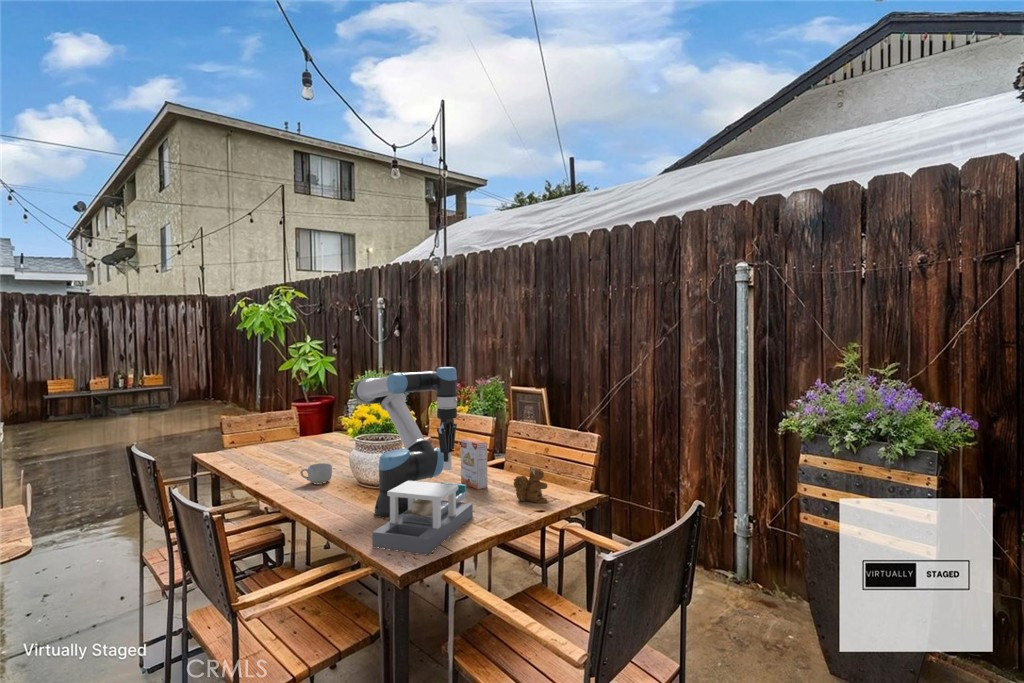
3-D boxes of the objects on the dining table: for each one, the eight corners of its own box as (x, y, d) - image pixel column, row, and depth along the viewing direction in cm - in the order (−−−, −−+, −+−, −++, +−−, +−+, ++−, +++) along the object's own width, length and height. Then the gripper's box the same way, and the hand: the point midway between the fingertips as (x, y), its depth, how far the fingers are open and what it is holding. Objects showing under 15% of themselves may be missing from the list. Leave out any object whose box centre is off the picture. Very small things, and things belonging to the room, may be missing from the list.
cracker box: (460, 483, 235) (460, 438, 235) (471, 481, 239) (470, 436, 239) (476, 490, 224) (476, 443, 224) (487, 487, 228) (487, 441, 228)
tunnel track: (372, 547, 163) (372, 499, 162) (425, 511, 197) (424, 471, 197) (428, 555, 156) (428, 505, 156) (472, 516, 191) (472, 475, 191)
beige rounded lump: (411, 520, 173) (411, 503, 173) (420, 514, 178) (420, 497, 178) (427, 522, 171) (427, 504, 171) (435, 516, 177) (435, 499, 177)
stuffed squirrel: (548, 503, 206) (548, 471, 206) (514, 504, 205) (514, 471, 205) (545, 495, 216) (545, 465, 216) (512, 496, 215) (512, 465, 215)
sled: (402, 521, 171) (402, 506, 171) (441, 495, 200) (441, 482, 200) (430, 524, 168) (430, 509, 168) (466, 497, 197) (466, 484, 197)
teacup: (332, 478, 244) (332, 462, 244) (332, 484, 234) (332, 467, 234) (300, 481, 239) (300, 464, 239) (299, 487, 229) (299, 470, 229)
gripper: (448, 410, 185) (449, 474, 185) (462, 405, 198) (463, 466, 198) (430, 409, 188) (430, 473, 188) (445, 405, 200) (445, 464, 200)
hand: (447, 469), depth 193 cm, fingers closed
